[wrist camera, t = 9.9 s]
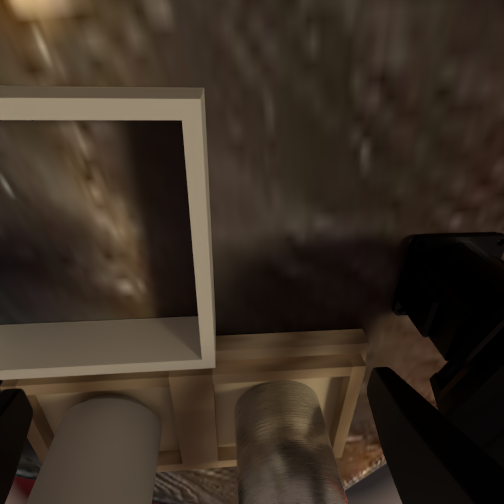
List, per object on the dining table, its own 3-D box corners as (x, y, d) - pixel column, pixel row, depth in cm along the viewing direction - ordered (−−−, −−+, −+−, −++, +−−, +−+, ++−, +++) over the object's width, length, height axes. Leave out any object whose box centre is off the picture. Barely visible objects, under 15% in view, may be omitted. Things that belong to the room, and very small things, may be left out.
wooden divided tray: (362, 328, 27) (376, 355, 24) (336, 434, 34) (345, 463, 32) (7, 346, 25) (-15, 377, 22) (60, 455, 32) (48, 487, 30)
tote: (204, 87, 17) (200, 98, 14) (215, 323, 25) (215, 367, 22) (-139, 84, 16) (-237, 96, 12) (-12, 334, 24) (-49, 382, 21)
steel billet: (323, 377, 27) (388, 581, 17) (314, 430, 31) (362, 624, 20) (233, 382, 26) (243, 597, 16) (234, 436, 30) (243, 639, 20)
